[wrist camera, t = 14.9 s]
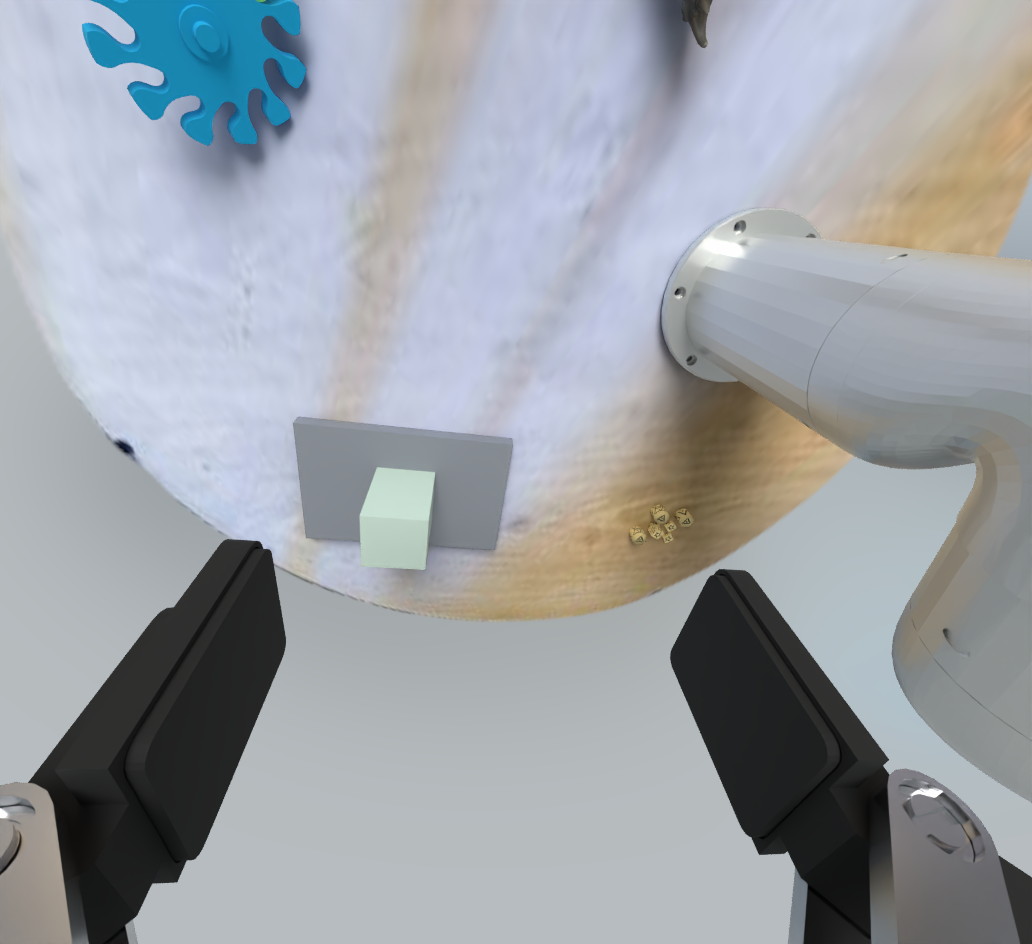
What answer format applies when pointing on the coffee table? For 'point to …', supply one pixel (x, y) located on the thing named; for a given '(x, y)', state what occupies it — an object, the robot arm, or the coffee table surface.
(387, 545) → the block
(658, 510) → the dice set
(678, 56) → the coffee table surface
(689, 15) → the rhino figurine
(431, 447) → the pin plate
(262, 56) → the gear
